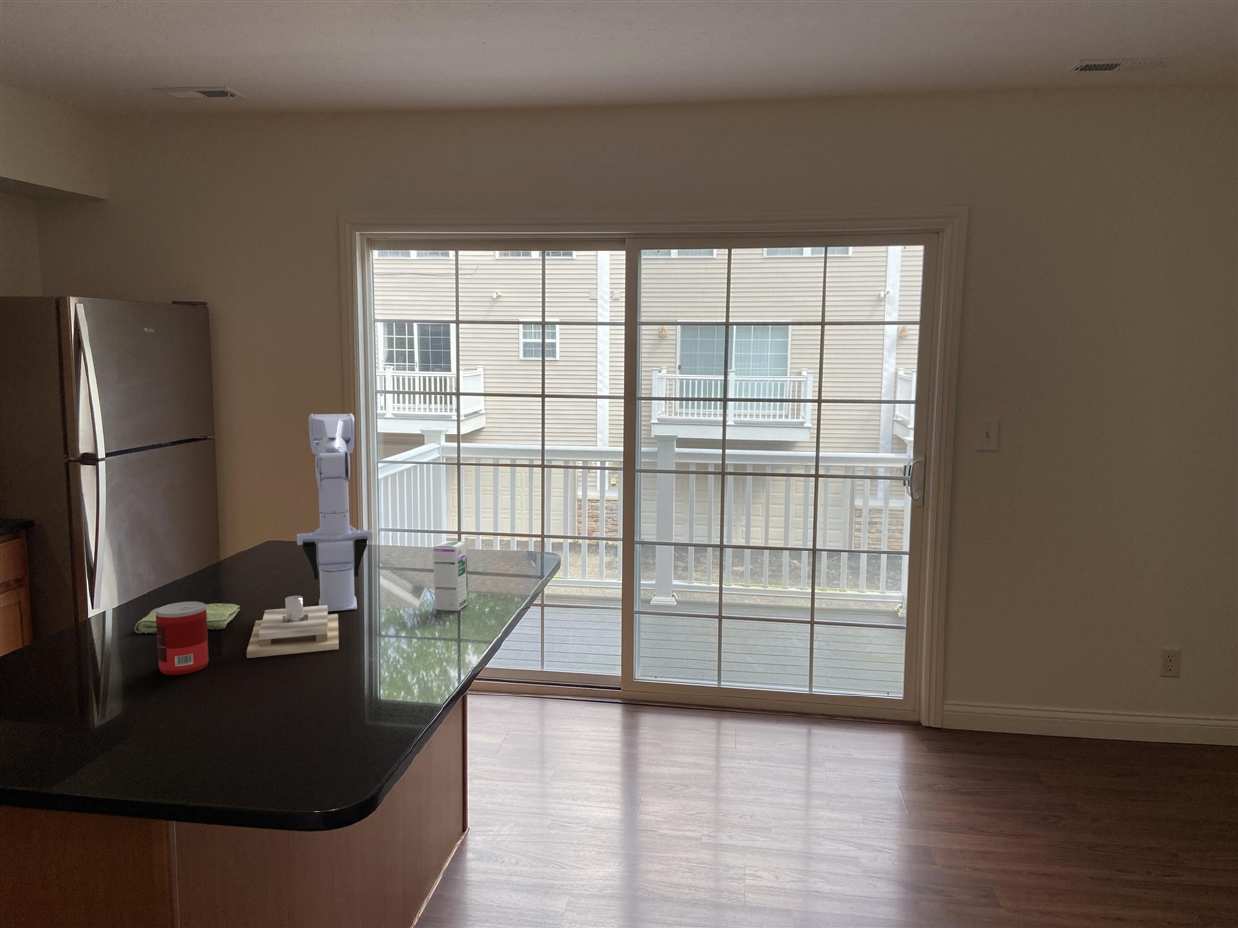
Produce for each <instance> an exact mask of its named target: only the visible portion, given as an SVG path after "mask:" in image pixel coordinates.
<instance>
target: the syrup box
mask: <svg viewBox="0 0 1238 928" xmlns="http://www.w3.org/2000/svg"><path fill="white" fill-rule="evenodd" d="M467 555H468V554H467V542H466V541H459V540H447V541H445V540H444V541H442V542H440V543H438V544H437V545H434V546H432V567H433V589H434V593H433V594H434V609H435V610H438V611H446V612H447V611H450V612H459V611H460V610H462V609H463V608H464V607H465V606H467V605H469V587H468V581H469V580H468V561H467V559H468V558H467V557H468V556H467Z"/></svg>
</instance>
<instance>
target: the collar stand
mask: <svg viewBox="0 0 1238 928" xmlns="http://www.w3.org/2000/svg"><path fill="white" fill-rule="evenodd" d="M303 619H304V621H301V622H289V623H286V608H275V609H265V610H264V614H263V618H262V619H261V620H255V621H254V625H253V630H252V632H251V636H250V639H249V641H248V646H247V648H246V659H249V658H250V659H252V658H261V657H271V656H283V655H293V654H302V653H312V652H323V651H331V650H332V651H333V650H339V649H340V648H339V646H340V643H339V642H340V641H339V614H338V613H333V614H332V613H331V614H329V611H328V606H327V605H323V606H319V605H313V606H312V605H311V606H303Z"/></svg>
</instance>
